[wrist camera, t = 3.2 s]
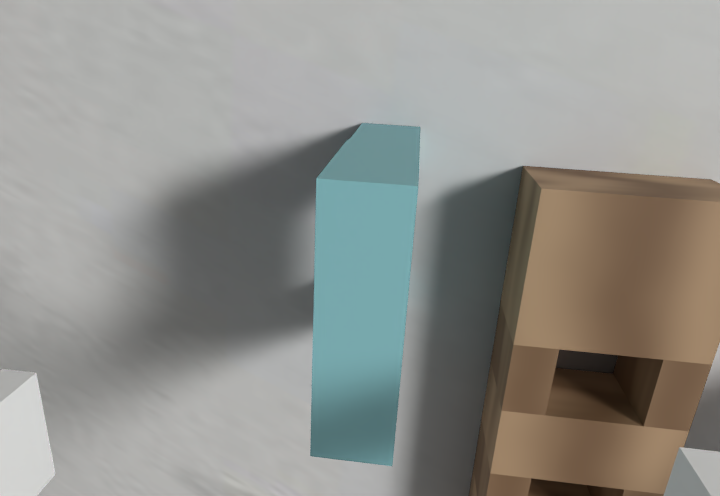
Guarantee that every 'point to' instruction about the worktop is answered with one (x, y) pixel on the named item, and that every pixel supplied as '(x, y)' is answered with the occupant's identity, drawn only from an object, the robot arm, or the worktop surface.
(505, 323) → the wooden slotted block
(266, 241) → the worktop surface
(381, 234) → the clip
